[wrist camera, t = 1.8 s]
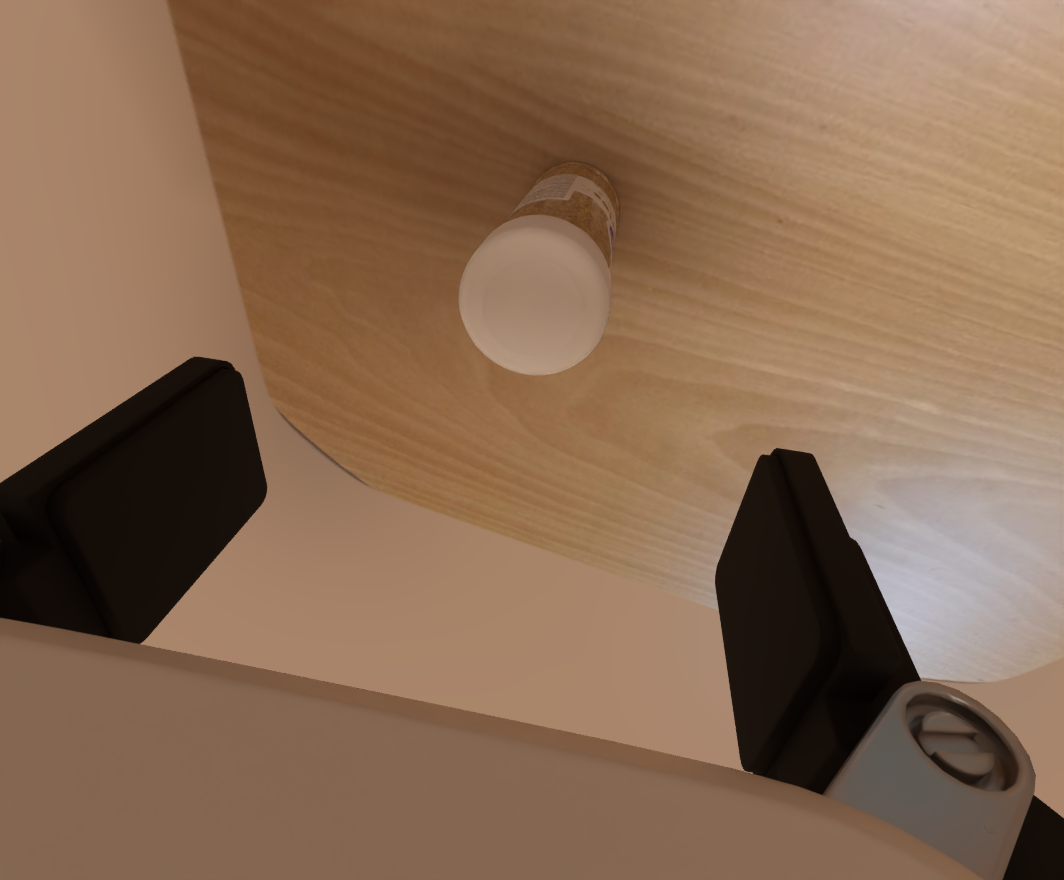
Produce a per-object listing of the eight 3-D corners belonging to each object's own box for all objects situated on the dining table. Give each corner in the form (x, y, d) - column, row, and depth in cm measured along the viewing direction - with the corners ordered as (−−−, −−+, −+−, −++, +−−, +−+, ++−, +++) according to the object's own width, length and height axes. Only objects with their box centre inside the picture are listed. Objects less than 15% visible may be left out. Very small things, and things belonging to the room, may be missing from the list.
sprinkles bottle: (628, 244, 28) (625, 364, 17) (541, 267, 29) (484, 393, 18) (608, 145, 26) (588, 209, 15) (514, 174, 27) (431, 253, 16)
